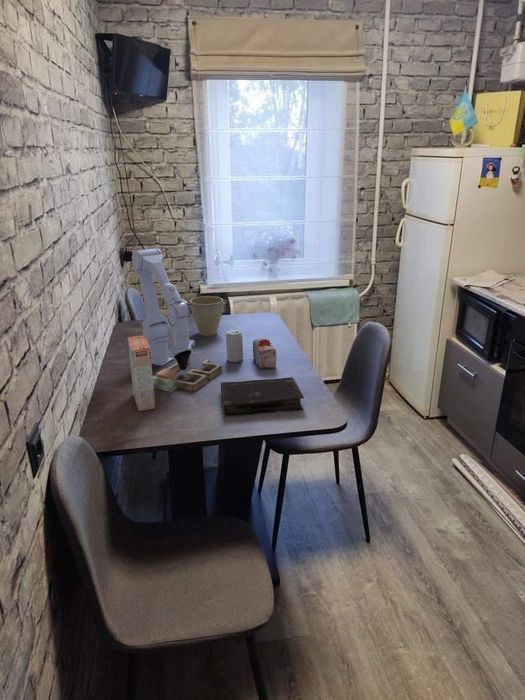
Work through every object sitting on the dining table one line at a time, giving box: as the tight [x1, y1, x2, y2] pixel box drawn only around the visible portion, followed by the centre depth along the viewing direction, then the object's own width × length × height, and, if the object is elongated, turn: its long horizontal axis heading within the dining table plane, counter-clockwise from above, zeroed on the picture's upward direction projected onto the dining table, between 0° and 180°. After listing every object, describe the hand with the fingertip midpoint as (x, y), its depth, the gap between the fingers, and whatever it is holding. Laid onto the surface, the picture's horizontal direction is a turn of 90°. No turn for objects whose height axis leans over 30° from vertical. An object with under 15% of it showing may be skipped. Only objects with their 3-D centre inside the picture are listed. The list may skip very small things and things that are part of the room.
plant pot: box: [189, 295, 224, 337], centre depth 223 cm, size 15×15×16 cm
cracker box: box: [127, 334, 156, 412], centre depth 158 cm, size 14×6×21 cm, turn 20°
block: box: [155, 368, 178, 382], centre depth 172 cm, size 5×5×5 cm
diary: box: [220, 376, 305, 417], centre depth 160 cm, size 19×25×5 cm
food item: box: [252, 338, 277, 370], centre depth 189 cm, size 14×8×10 cm, turn 16°
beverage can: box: [225, 329, 244, 363], centre depth 192 cm, size 6×6×12 cm
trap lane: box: [153, 356, 223, 393], centre depth 178 cm, size 17×25×4 cm
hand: (183, 369), depth 181 cm, fingers closed
